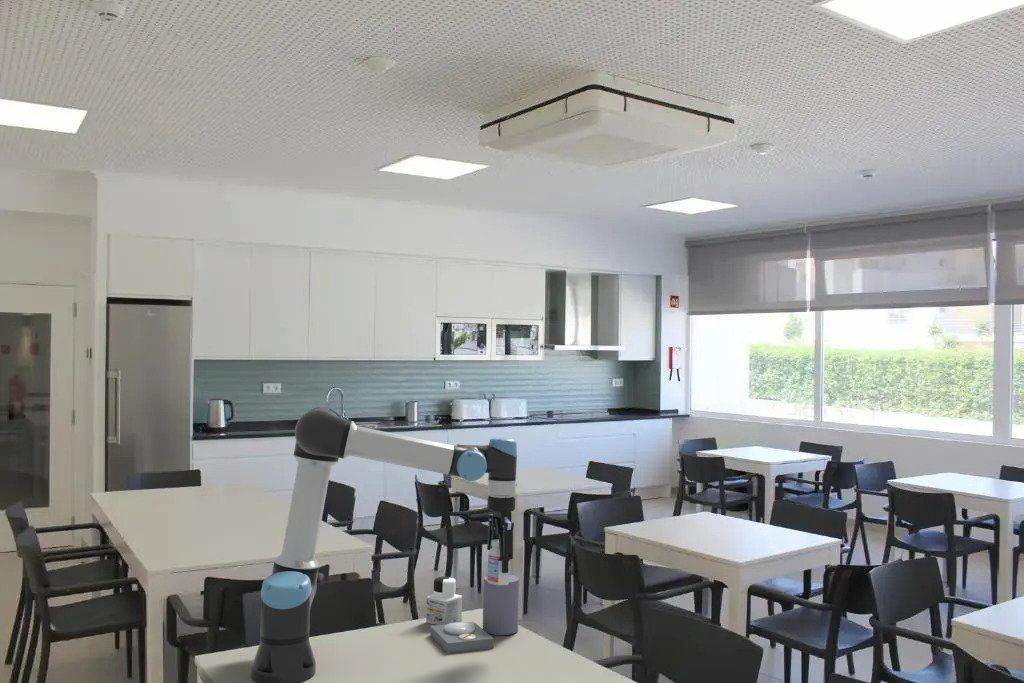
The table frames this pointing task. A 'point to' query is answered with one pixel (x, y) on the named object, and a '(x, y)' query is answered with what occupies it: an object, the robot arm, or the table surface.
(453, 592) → the container
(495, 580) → the pill bottle
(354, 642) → the table surface
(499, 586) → the container
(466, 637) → the scale
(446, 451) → the robot arm
